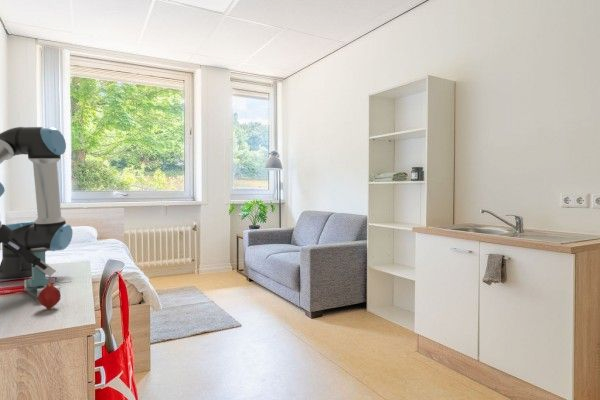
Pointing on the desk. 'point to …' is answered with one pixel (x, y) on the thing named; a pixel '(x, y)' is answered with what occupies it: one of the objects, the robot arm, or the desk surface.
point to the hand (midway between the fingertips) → (50, 272)
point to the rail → (35, 289)
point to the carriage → (38, 275)
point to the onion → (49, 296)
